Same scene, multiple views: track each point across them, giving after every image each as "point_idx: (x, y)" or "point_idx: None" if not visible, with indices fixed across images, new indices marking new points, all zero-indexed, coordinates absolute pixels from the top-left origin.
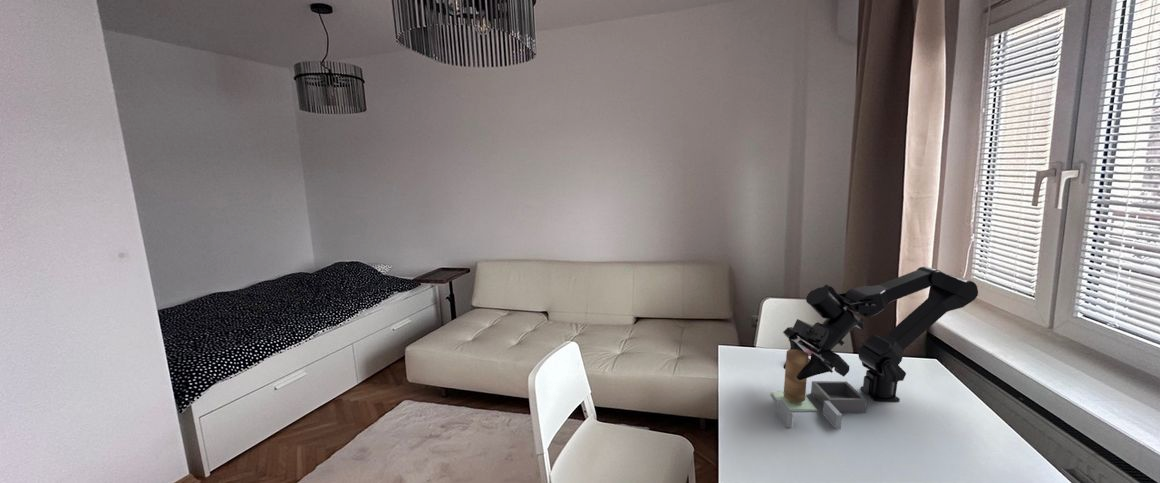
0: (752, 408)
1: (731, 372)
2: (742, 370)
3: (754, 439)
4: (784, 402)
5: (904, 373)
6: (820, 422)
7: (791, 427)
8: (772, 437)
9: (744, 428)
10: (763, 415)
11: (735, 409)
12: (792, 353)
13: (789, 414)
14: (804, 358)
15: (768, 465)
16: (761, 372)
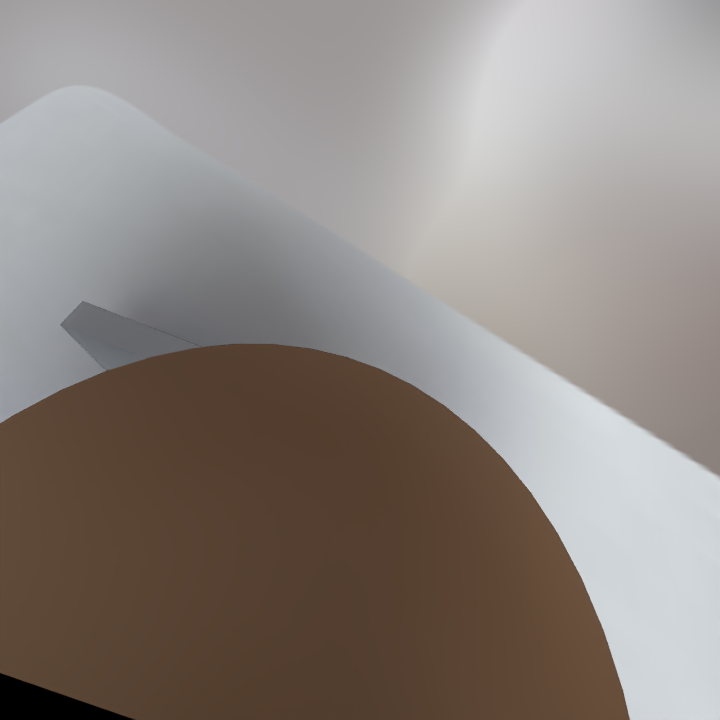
0: (320, 323)
1: (652, 452)
2: (684, 533)
3: (146, 200)
4: None
5: None
6: None
7: (103, 366)
8: (112, 254)
9: (218, 215)
10: (253, 327)
11: (339, 263)
12: (328, 516)
13: (76, 311)
14: None
15: (15, 150)
16: (673, 655)
